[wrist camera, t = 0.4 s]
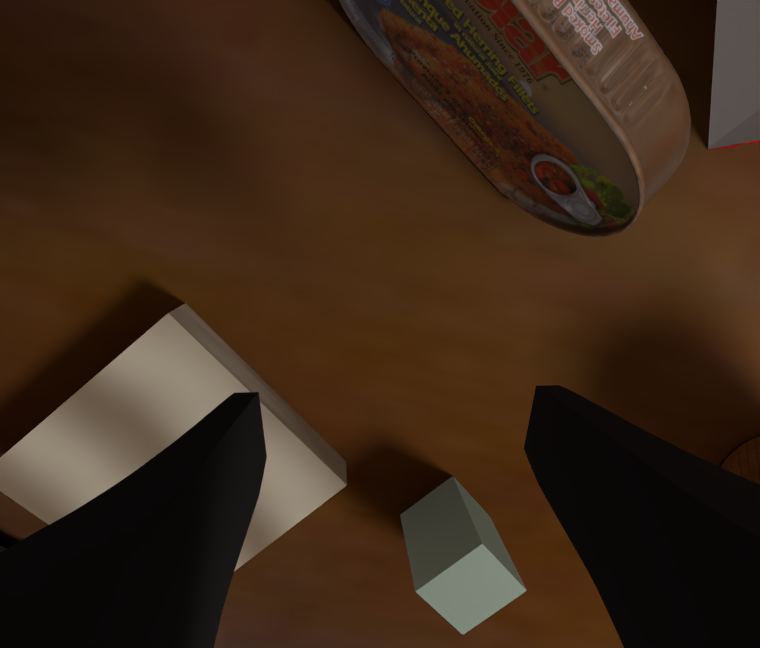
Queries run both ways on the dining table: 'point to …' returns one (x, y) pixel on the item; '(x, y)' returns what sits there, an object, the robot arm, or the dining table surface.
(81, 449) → the slab
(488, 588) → the block
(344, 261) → the dining table surface
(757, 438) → the disposable coffee cup
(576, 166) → the tin
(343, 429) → the dining table surface
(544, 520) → the dining table surface
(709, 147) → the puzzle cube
